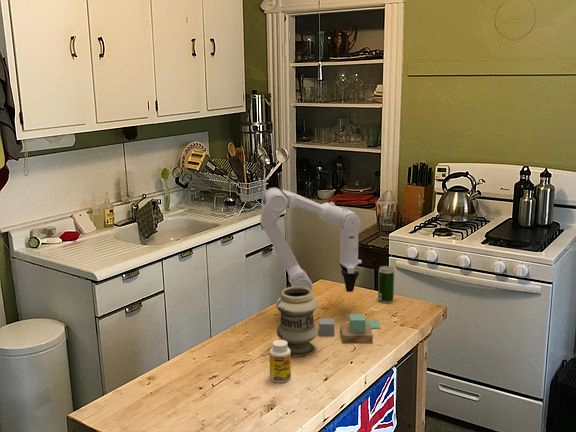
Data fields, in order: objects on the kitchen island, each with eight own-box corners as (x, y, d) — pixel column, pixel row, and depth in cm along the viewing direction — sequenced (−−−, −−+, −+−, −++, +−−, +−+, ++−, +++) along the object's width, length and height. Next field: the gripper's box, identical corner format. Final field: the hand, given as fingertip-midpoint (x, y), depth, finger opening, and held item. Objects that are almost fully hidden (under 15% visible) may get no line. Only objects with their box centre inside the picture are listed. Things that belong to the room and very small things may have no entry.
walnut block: (342, 344, 185) (342, 335, 184) (340, 332, 194) (340, 323, 193) (372, 344, 185) (372, 335, 184) (369, 332, 194) (369, 323, 193)
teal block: (350, 332, 186) (350, 320, 185) (349, 326, 191) (349, 314, 190) (365, 332, 186) (365, 320, 185) (364, 326, 190) (364, 314, 189)
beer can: (385, 304, 214) (385, 271, 212) (374, 300, 219) (375, 267, 216) (396, 301, 217) (397, 268, 214) (386, 296, 222) (387, 264, 219)
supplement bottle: (272, 384, 161) (271, 348, 159) (268, 374, 167) (267, 339, 164) (293, 382, 162) (292, 346, 160) (288, 372, 168) (287, 337, 165)
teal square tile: (361, 328, 195) (361, 327, 195) (359, 321, 201) (359, 320, 201) (380, 328, 195) (380, 327, 195) (377, 321, 201) (377, 319, 201)
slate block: (319, 336, 190) (319, 324, 189) (318, 330, 194) (318, 318, 194) (334, 336, 190) (334, 324, 189) (333, 330, 194) (333, 318, 193)
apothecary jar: (270, 354, 178) (269, 295, 174) (285, 337, 189) (284, 281, 185) (310, 360, 174) (310, 300, 170) (323, 343, 185) (323, 286, 181)
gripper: (363, 254, 194) (363, 295, 197) (359, 241, 208) (358, 279, 211) (341, 254, 194) (341, 295, 197) (338, 241, 208) (338, 280, 212)
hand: (348, 287), depth 204 cm, fingers open, 7 cm apart
